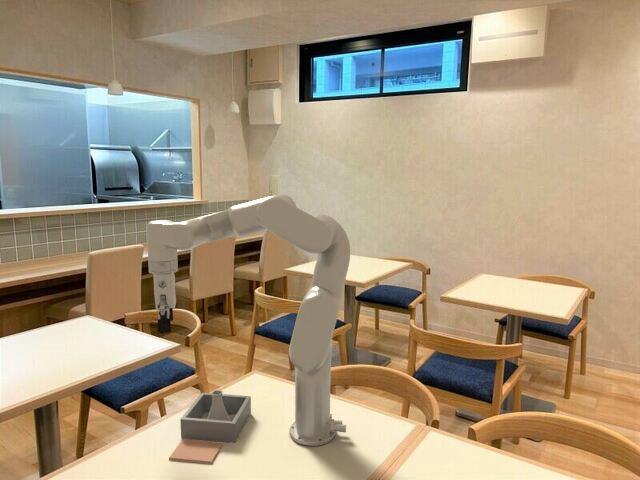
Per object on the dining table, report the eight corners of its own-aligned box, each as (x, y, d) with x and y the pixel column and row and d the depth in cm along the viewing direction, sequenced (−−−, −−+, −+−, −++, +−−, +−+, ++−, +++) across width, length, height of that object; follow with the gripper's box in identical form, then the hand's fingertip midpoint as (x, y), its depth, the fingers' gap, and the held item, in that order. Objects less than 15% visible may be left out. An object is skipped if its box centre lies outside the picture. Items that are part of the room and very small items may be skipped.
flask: (224, 434, 127) (223, 399, 125) (200, 431, 128) (198, 397, 127) (234, 420, 134) (234, 387, 132) (211, 417, 135) (210, 385, 134)
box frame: (251, 413, 138) (250, 396, 137) (235, 442, 123) (234, 423, 122) (202, 409, 139) (201, 392, 139) (181, 438, 125) (180, 419, 124)
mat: (222, 444, 122) (222, 442, 122) (211, 463, 114) (211, 461, 114) (182, 441, 123) (182, 439, 123) (169, 459, 116) (169, 457, 115)
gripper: (176, 272, 119) (178, 336, 121) (179, 259, 135) (181, 316, 138) (144, 273, 117) (148, 338, 119) (151, 260, 133) (154, 317, 136)
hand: (165, 326), depth 129 cm, fingers open, 9 cm apart
